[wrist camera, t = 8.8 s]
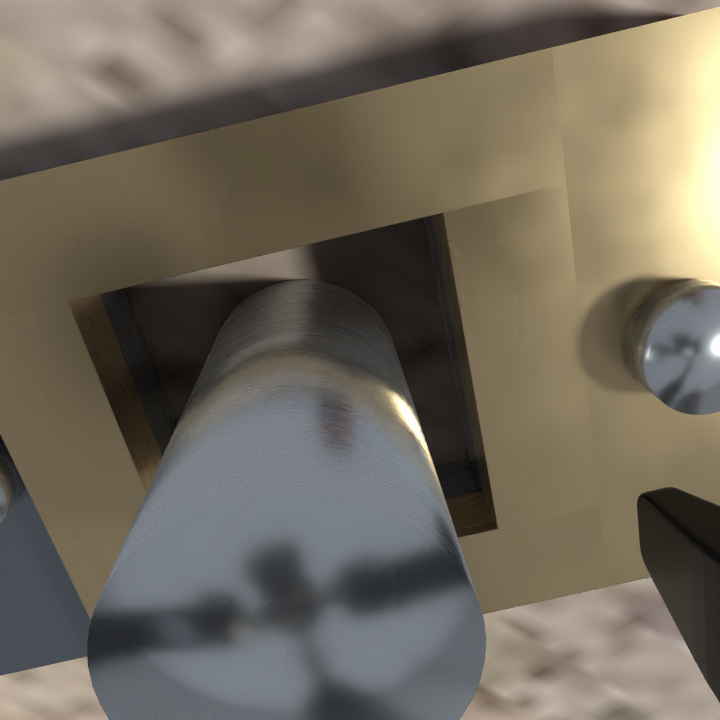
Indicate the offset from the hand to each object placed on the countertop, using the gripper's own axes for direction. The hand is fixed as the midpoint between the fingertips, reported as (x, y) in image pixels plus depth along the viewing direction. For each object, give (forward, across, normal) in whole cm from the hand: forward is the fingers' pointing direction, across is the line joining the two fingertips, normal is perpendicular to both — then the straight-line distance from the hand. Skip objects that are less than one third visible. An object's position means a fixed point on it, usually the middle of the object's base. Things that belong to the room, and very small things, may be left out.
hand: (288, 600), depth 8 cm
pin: (+8, 0, 0) cm, 8 cm away
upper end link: (+8, -2, 0) cm, 8 cm away
